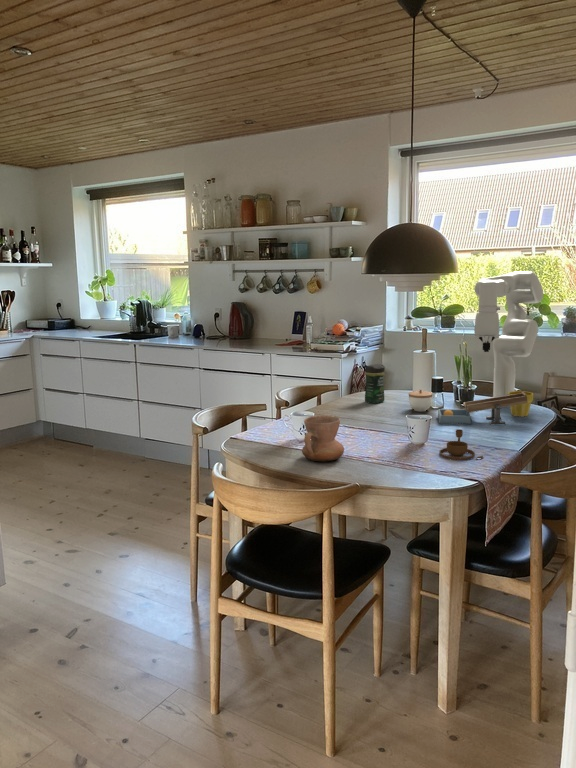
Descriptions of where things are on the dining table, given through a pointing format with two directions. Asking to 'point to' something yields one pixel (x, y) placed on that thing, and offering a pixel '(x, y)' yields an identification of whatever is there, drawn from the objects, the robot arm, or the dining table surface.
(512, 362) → the robot arm
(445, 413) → the ball
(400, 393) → the dining table surface
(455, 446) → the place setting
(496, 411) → the pivot stand
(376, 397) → the coffee jar
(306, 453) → the ceramic jug
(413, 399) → the lidded jar
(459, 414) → the grey square tray
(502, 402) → the chute
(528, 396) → the plant pot
